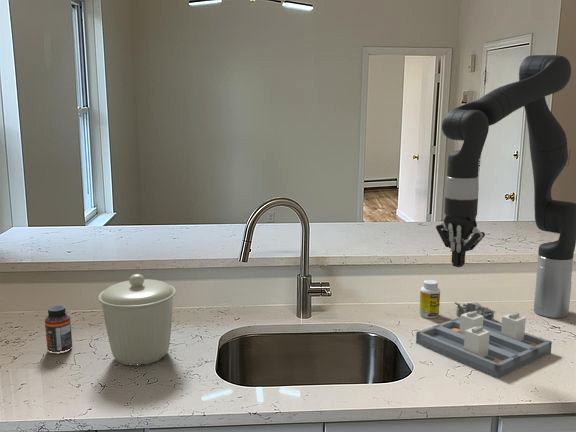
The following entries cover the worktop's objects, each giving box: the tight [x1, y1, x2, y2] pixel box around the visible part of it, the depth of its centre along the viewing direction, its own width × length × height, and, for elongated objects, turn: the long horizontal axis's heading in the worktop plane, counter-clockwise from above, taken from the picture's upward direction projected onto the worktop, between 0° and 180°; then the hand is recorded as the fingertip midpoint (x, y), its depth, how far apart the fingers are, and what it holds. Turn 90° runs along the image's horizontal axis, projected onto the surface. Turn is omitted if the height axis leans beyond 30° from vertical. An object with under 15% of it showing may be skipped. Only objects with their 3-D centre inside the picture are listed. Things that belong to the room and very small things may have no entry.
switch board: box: [415, 317, 553, 379], centre depth 146 cm, size 22×24×3 cm
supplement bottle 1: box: [44, 304, 73, 352], centre depth 145 cm, size 6×6×11 cm
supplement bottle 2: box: [418, 279, 441, 319], centre depth 168 cm, size 6×6×10 cm
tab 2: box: [464, 326, 490, 357], centre depth 138 cm, size 4×4×7 cm
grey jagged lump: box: [454, 301, 497, 322], centre depth 166 cm, size 11×8×4 cm
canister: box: [97, 273, 177, 366], centre depth 140 cm, size 18×18×21 cm
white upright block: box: [501, 312, 526, 342], centre depth 147 cm, size 4×4×7 cm
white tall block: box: [460, 311, 484, 335], centre depth 148 cm, size 4×4×7 cm
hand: (457, 266), depth 140 cm, fingers closed
